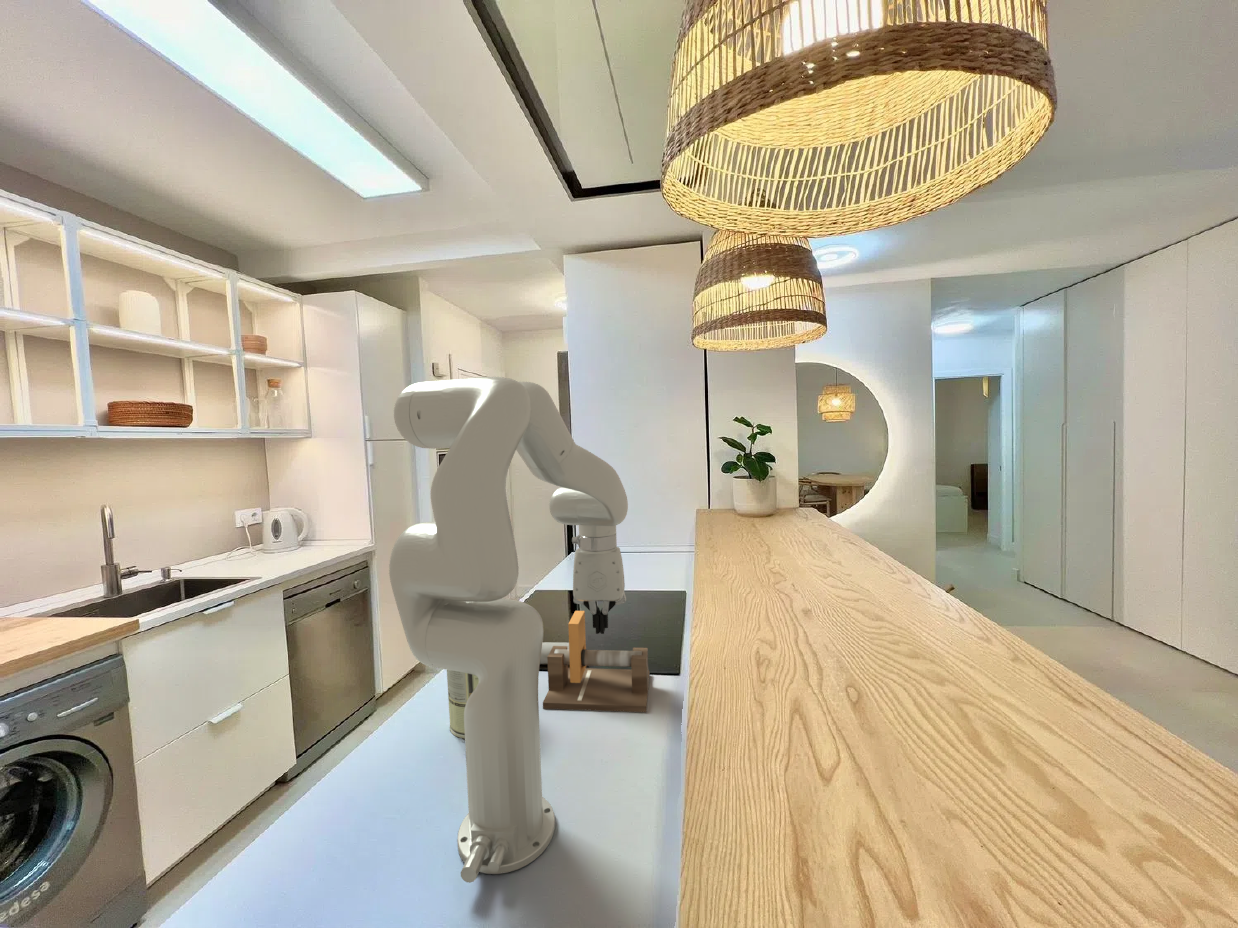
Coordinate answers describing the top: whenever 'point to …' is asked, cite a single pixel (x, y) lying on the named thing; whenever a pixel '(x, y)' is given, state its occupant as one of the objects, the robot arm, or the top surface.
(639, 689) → the pipe stand
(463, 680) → the coffee can
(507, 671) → the robot arm
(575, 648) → the orange flat block
